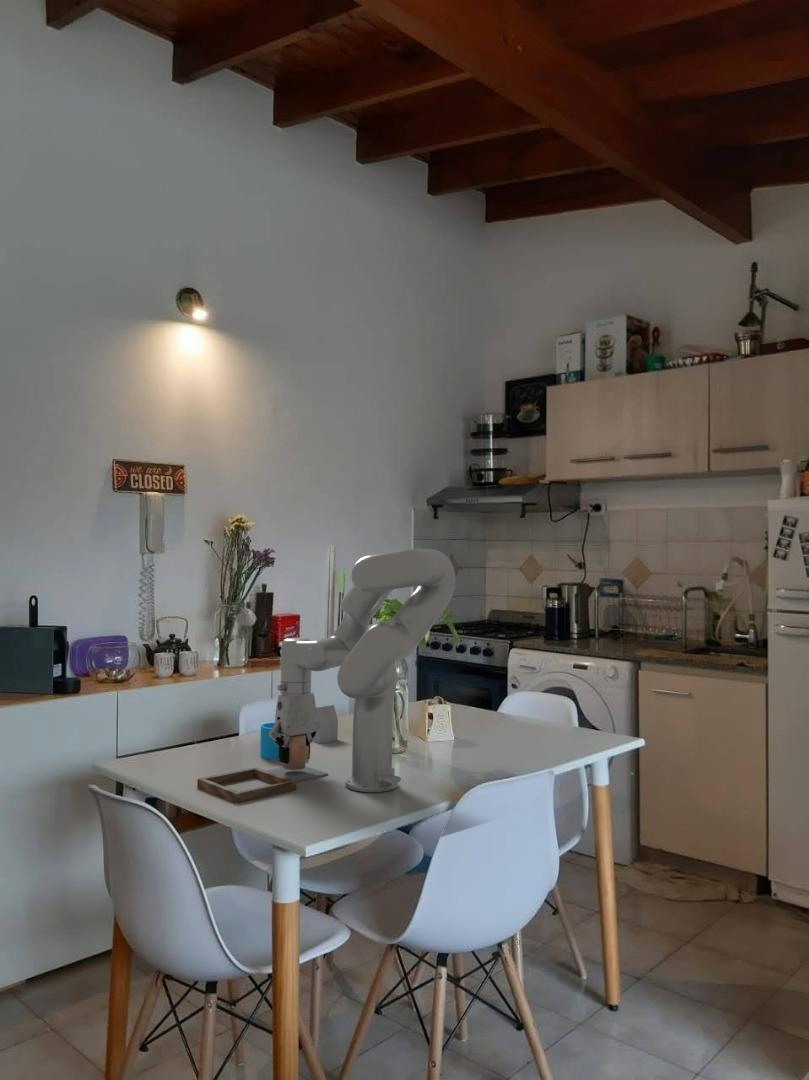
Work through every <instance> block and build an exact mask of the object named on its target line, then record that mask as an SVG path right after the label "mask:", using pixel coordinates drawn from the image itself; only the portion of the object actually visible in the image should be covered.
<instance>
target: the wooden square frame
mask: <svg viewBox="0 0 809 1080" xmlns="http://www.w3.org/2000/svg"><path fill="white" fill-rule="evenodd" d="M253 778H255V779H258V780H261V781H264V782H267V783H270V784H269V785H264V786H259V787H255V788H249V789H245V790H241V791H237V790H235V789H233V788H229V787H226V786H223V784H224V785H225V784H228V783H233V782H238V781H243V780H249V779H253ZM196 781H197V783H196V784H197V787H196V788H198V789H201V790H203V791H206V792H208V793H210V794H213V795H216V796H218V797H220V798H223V799H226V800H227V801H229V802H230V801H231V802H232V803H233V802H234V803H236V804H237V803H242V802H247V801H252V800H256V799H261V798H264V797H271V796H274V795H279V794H283V793H287V792H292V791H296V790H297V782H296V781H294V780H291V779H288V778H285V777H283V776H280V775H277V774H274V773H271V772H268V771H266V770H264V769H262V768H258V767H251V768H246V769H241V770H236V771H231V772H226V773H220V774H215V775H211V776H210V775H209V776H205V777H200V778H197V780H196Z"/></svg>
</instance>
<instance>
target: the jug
mask: <svg viewBox="0 0 809 1080" xmlns="http://www.w3.org/2000/svg"><path fill="white" fill-rule="evenodd" d="M284 737H285V736H284ZM283 740H284V739H283ZM287 747H289V763H287V764H285V763H282V767H283V768H284V769H288V770H299V769H304V768H305V766H306V764H308V763H309V762H310V761H309V760H310V759H309V746H306V734H302V735H296V736H290V738H289V741H288V745H287Z"/></svg>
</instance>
